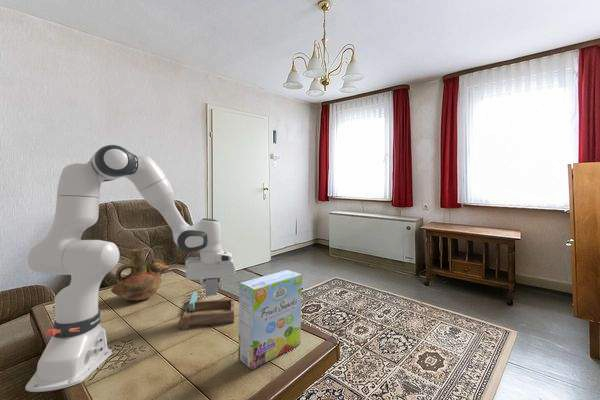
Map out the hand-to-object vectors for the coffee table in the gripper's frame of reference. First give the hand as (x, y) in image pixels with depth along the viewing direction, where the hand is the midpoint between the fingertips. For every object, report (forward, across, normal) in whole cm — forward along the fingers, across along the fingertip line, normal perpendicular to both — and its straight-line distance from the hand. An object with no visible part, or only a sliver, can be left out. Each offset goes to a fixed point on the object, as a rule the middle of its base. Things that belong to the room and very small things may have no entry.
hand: (211, 287), depth 122 cm
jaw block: (+3, 0, 0) cm, 3 cm away
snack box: (+12, +22, -32) cm, 41 cm away
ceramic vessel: (+13, -36, +29) cm, 48 cm away
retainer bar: (+12, -9, +12) cm, 19 cm away
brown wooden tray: (+13, -1, +5) cm, 14 cm away
